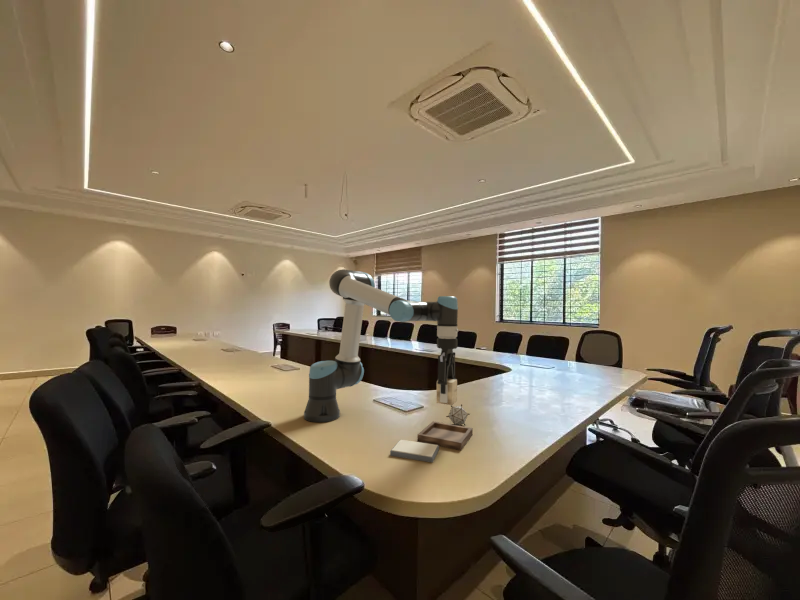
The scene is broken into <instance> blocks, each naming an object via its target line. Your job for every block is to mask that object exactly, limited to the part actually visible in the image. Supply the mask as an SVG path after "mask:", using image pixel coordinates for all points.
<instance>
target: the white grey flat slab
mask: <svg viewBox="0 0 800 600" xmlns="http://www.w3.org/2000/svg"><path fill="white" fill-rule="evenodd" d="M439 450H440V446H438V445H434V444H427V443H423V442H418V441H414V440H413V441H412V440H406V439H399V440H398V441H397V443H396V444H395V445H394V446H393V447H392V448H391V450H390V452H389V455H390V456H391V457H396V458H403V459H409V460H415V461H422V462H428V463H433V462H434V461H435V458H436V457H437V455H438V453H439Z"/></svg>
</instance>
